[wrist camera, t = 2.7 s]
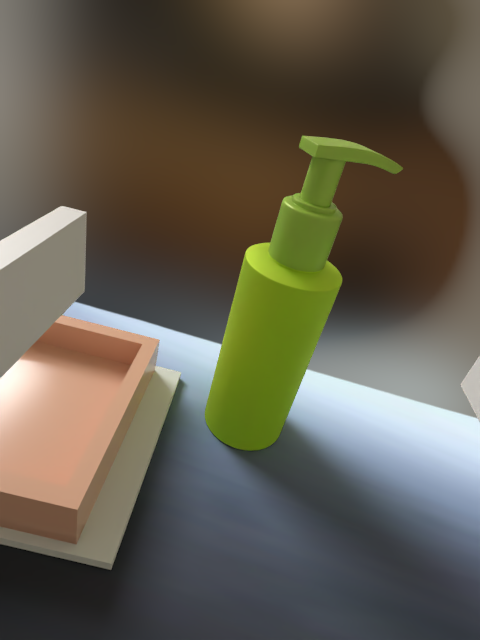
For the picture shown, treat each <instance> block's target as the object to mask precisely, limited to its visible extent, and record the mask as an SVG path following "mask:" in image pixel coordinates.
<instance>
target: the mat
mask: <svg viewBox="0 0 480 640" xmlns="http://www.w3.org/2000/svg"><path fill="white" fill-rule="evenodd" d="M180 376H181V372H178V371H174V370H170V369H166V368H162V367H158V366H156V367H155V371H154V373H153V376H152V378H151V380H150V382H149V384H148V387H147V389H146V391H145V393H144V396H143V398H142V400H141V402H140V404H139V407H138V409H137V411H136V413H135V416H134V418H133V420H132V422H131V424H130V427H129V429H128V431H127V433H126V436H125V438H124V440H123V442H122V444H121V447H120V449H119V451H118V453H117V456H116V458H115V460H114V462H113V464H112V467H111V469H110V471H109V473H108V475H107V478H106V480H105V482H104V484H103V487H102V489H101V491H100V493H99V495H98V498H97V500H96V502H95V504H94V507H93V509H92V511H91V513H90V515H89V518H88V520H87V522H86V524H85V527H84V529H83V531H82V533H81V535H80V538H79V540H78V542H77V544H72V543H68V542H64V541H60V540H55V539H51V538H47V537H43V536H38V535H34V534H30V533H26V532H21V531H17V530H13V529H9V528H4V527H0V544H3V545H7V546H11V547H15V548H20V549H24V550H28V551H32V552H37V553H41V554H45V555H49V556H54V557H58V558H62V559H66V560H71V561H75V562H79V563H84V564H88V565H92V566H96V567H101V568H105V569H109V570H111V569H112V566H113V563H114V561H115V558H116V555H117V552H118V549H119V547H120V544H121V541H122V538H123V536H124V533H125V530H126V527H127V524H128V522H129V519H130V516H131V513H132V510H133V508H134V505H135V502H136V499H137V497H138V494H139V491H140V488H141V485H142V483H143V480H144V477H145V474H146V471H147V469H148V466H149V463H150V460H151V458H152V455H153V452H154V449H155V446H156V444H157V441H158V438H159V435H160V433H161V430H162V427H163V424H164V421H165V419H166V416H167V413H168V410H169V407H170V405H171V402H172V399H173V396H174V394H175V391H176V388H177V385H178V382H179V380H180Z"/></svg>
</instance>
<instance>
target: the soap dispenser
mask: <svg viewBox="0 0 480 640" xmlns="http://www.w3.org/2000/svg"><path fill="white" fill-rule="evenodd" d="M299 148H300V149H302V150H304V151H305V152H307V153H308V154H310V155H311V156H312V159H311V163H310V166H309V169H308V172H307V176H306V179H305V182H304V185H303V189H302V192H301V193H297V194H294V195H293V196H287V197H285V198H284V199H283V201H282V204H281V208H280V212H279V215H278V218H277V222H276V225H275V229H274V232H273V236H272V239H271V243H261V244H256V245H253V246H251V247H250V248H248V249H247V251H246V253H245V257H244V261H243V264H242V268H241V273H240V276H239V280H238V284H237V288H236V292H235V296H234V300H233V303H232V307H231V311H230V315H229V319H228V323H227V327H226V331H225V335H224V339H223V343H222V346H221V350H220V354H219V358H218V362H217V366H216V370H215V374H214V378H213V382H212V385H211V389H210V393H209V397H208V401H207V405H206V409H205V419H206V423H207V425H208V427H209V429H210V431H211V432H212V433H213V434H214V435H215V436H216V437H217V438H218V439H219V440H221V441H222V442H223V443H225V444H227V445H229V446H231V447H234V448H237V449H241V450H249V451H253V450H261V449H264V448H267V447H269V446H270V445H272V444H273V443H274V442H275V441H276V440H277V439H278V437H279V435H280V433H281V430H282V428H283V425H284V423H285V421H286V418H287V416H288V413H289V411H290V408H291V406H292V403H293V401H294V399H295V396H296V394H297V391H298V389H299V386H300V384H301V381H302V379H303V377H304V374H305V372H306V369H307V367H308V364H309V362H310V359H311V357H312V354H313V352H314V350H315V347H316V345H317V342H318V340H319V337H320V335H321V332H322V330H323V328H324V325H325V323H326V320H327V318H328V315H329V313H330V310H331V308H332V306H333V303H334V301H335V298H336V296H337V293H338V291H339V288H340V286H341V283H342V277H341V274H340V272H339V271H338V270H337V269H336V267H334V266H333V265H332V264H331V263H330V262H328V261H327V258H328V256H329V253H330V250H331V248H332V245H333V242H334V240H335V237H336V234H337V232H338V229H339V226H340V224H341V221H342V213H341V212H340V211H339V210H338V209H336V206H335V205H334V204H333V203H332V199H333V196H334V193H335V191H336V188H337V185H338V182H339V179H340V176H341V174H342V171H343V168H344V165H345V162H346V161H349V162H357V163H364V164H370V165H374V166H377V167H380V168H382V169H385V170H387V171H389V172H390V173H393V174H396V173H398V172H400V171H401V170H402V169H403V168H402V167H401V166H400V165H399V164H397V163H396V162H394V161H392V160H391V159H388V158H387V157H385V156H383V155H381V154H379V153H377V152H375V151H373V150H370V149H368V148H366V147H364V146H362V145H359V144H356V143H353V142H349V141H345V140H339V139H332V138H323V137H311V136H302V138H301V142H300V145H299Z"/></svg>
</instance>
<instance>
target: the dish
mask: <svg viewBox="0 0 480 640" xmlns="http://www.w3.org/2000/svg"><path fill="white" fill-rule="evenodd" d="M159 341H160V340H158V339H154V338H150V337H146V336H142V335H138V334H134V333H130V332H126V331H122V330H118V329H115V328H111V327H107V326H103V325H99V324H95V323H91V322H87V321H83V320H79V319H75V318H71V317H67V316H63V315H61V316H60V317H59V318H58V319H57V320H56V321H55V322H54V323H53V324H52V325H51V327H50V328H49V329H48V330H47V331H46V332H45V333H44V334H43V335H42V336H41V337H40V338H39V339H38V340H37V341H36V342H35V343H34V344H33V345H32V346H31V347H30V348H29V349H28V350H27V351H26V352H25V353H24V355H23V356H22V357H21V358H20V359H19V360H18V361H17V362H16V363H15V364H14V365H13V366H12V367H11V368H10V369H9V370H8V371H7V372H6V373H5V374H4V375H3V376H2V377H1V378H0V527H4V528H9V529H13V530H17V531H21V532H26V533H30V534H34V535H38V536H43V537H47V538H51V539H55V540H60V541H64V542H68V543H72V544H77V542H78V540H79V538H80V535H81V533H82V531H83V529H84V527H85V524H86V522H87V520H88V518H89V515H90V513H91V511H92V509H93V507H94V504H95V502H96V500H97V498H98V495H99V493H100V491H101V489H102V487H103V484H104V482H105V480H106V478H107V475H108V473H109V471H110V469H111V467H112V464H113V462H114V460H115V458H116V456H117V453H118V451H119V449H120V447H121V444H122V442H123V440H124V438H125V436H126V433H127V431H128V429H129V427H130V424H131V422H132V420H133V418H134V416H135V413H136V411H137V409H138V407H139V404H140V402H141V400H142V398H143V396H144V393H145V391H146V389H147V387H148V384H149V382H150V380H151V378H152V376H153V373H154V371H155V367H156V360H157V354H158V347H159Z"/></svg>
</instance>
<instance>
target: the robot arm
mask: <svg viewBox="0 0 480 640" xmlns="http://www.w3.org/2000/svg"><path fill="white" fill-rule="evenodd" d="M86 213H87V212H83V211H80V210H76V209H72V208H68V207H64V206H61V207H59V208H57V209H56V210H54V211H52V212H50V213H49V214H47V215H45V216H43V217H41V218H40V219H38V220H36V221H34V222H33V223H31V224H29V225H27V226H26V227H24V228H22V229H20V230H19V231H17V232H15V233H13V234H12V235H10V236H8V237H6V238H5V239H3V240H1V241H0V378H1V377H2V376H3V375H4V374H5V373H6V372H7V371H8V370H9V369H10V368H11V367H12V366H13V365H14V364H15V363H16V362H17V361H18V360H19V359H20V358H21V357H22V356H23V355H24V353H25V352H26V351H27V350H28V349H29V348H30V347H31V346H32V345H33V344H34V343H35V342H36V341H37V340H38V339H39V338H40V337H41V336H42V335H43V334H44V333H45V332H46V331H47V330H48V329H49V328H50V327H51V325H52V324H53V323H54V322H55V321H56V320H57V319H58V318H59V317H60V316H61V315H62V314H63V313H64V312H65V311H66V310H67V309H68V308H69V307H70V306H71V305H72V304H73V303H74V302H75V301H76V299H77V298H78V297H79V296H80V295H81V294H82V293H83V292H84V291H85V254H86V253H85V252H86ZM461 387H462V389H463V391H464V393H465V395H466V397H467V399H468V400H469V402H470V404H471V406H472V408H473V410H474V412H475V414H476V415H477V417H478V419H479V421H480V356H479V357H478V359H477V360H476V362H475V363H474V365H473V366H472V368H471V370H470V371H469V373H468V374H467V375H466V377H465V379H464V380H463V382H462V383H461Z"/></svg>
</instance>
